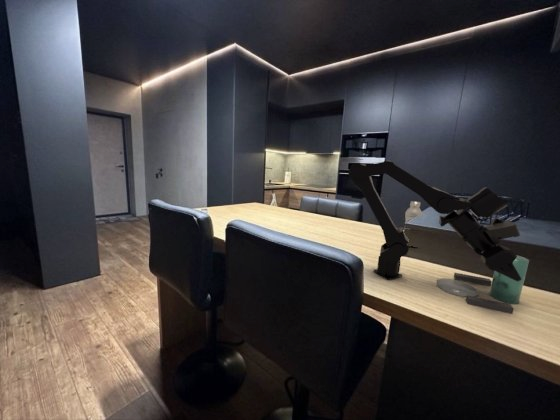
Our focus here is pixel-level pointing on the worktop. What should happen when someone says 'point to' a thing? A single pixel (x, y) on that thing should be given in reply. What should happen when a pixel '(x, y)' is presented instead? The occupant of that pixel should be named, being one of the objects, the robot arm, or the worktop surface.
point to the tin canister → (509, 283)
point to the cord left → (473, 279)
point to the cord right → (489, 304)
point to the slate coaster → (456, 287)
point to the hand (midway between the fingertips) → (511, 272)
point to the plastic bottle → (413, 211)
